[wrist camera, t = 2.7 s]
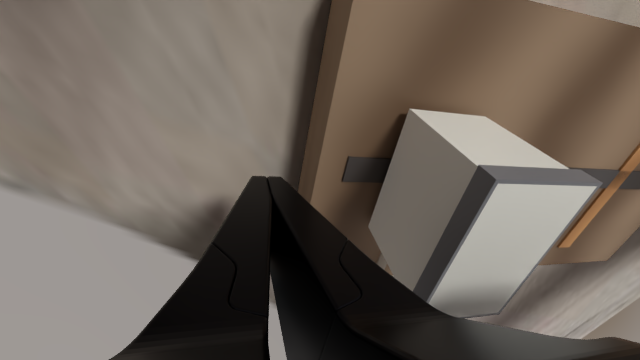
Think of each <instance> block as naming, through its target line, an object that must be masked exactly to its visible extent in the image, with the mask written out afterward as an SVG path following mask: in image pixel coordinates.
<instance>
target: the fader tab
mask: <svg viewBox="0 0 640 360" xmlns="http://www.w3.org/2000/svg"><path fill="white" fill-rule="evenodd" d="M602 184H603V183H602V182H600V181H599V180H597V179H595V178H594V177H592V176H591V175H589V174H587V173H586V172H584V171H582V170H578V169H569V168H567V167H566V166H564V165H562V164H561V163H559V162H557V161H556V160H554V159H553V158H551V157H549V156H548V155H546V154H545V153H543V152H541V151H540V150H538V149H537V148H535V147H533V146H532V145H530V144H529V143H527V142H525V141H524V140H522V139H521V138H519V137H517V136H516V135H514V134H513V133H511V132H509V131H508V130H506V129H505V128H503V127H501V126H500V125H498V124H497V123H495V122H493V121H492V120H490V119H489V118H487V117H485V116H476V115H466V114H457V113H447V112H437V111H427V110H418V109H409V111H408V114H407V117H406V120H405V123H404V125H403V128H402V131H401V134H400V137H399V140H398V143H397V145H396V148H395V151H394V154H393V157H392V160H391V163H390V166H389V168H388V171H387V174H386V177H385V180H384V183H383V186H382V188H381V191H380V194H379V197H378V200H377V203H376V206H375V209H374V211H373V214H372V217H371V220H370V223H369V226H368V227H369V229H370V231H371V233H372V235H373V237H374V239H375V241H376V243H377V245H378V247H379V249H380V251H381V252H382V254H383V256H384V258H385V260H386V262H387V264H388V266H389V268H390V270H391V272H392V274H393V276H394V278H395V279H397V280H398V281H399V282H401V283H402V284H403V285H405V286H406V287H407V288H409V289H410V290H411V291H413V292H414V293H415V294H417V295H418V296H419V297H420V298H422V299H423V300H424V301H426V302H427V303H429V304H430V305H431V306H433V307H434V308H436V309H438V310H440V311H442V312H444V313H446V314H448V315H451V316H454V317H458V318H462V319H465V318H473V317H481V316H489V315H498V314H500V312H501V311H502V310H503V309H504V307H505V306H506V305H507V303H508V302H509V301H510V300H511V298H512V297H513V296H514V295H515V293H516V292H517V291H518V290H519V288H520V287H521V286H522V285H523V283H524V282H525V281H526V279H527V278H528V277H529V276H530V274H531V273H532V272H533V271H534V269H535V268H536V267H537V266H538V264H539V263H540V262H541V261H542V259H543V258H544V257H545V255H546V254H547V253H548V252H549V250H550V249H551V248H552V247H553V245H554V244H555V243H556V242H557V240H558V239H559V238H560V237H561V235H562V234H563V233H564V231H565V230H566V229H567V228H568V226H569V225H570V224H571V223H572V221H573V220H574V219H575V218H576V216H577V215H578V214H579V213H580V211H581V210H582V209H583V208H584V206H585V205H586V204H587V202H588V201H589V200H590V199H591V197H592V196H593V195H594V194H595V192H596V191H597V190H598V189H599V187H600V186H601V185H602Z"/></svg>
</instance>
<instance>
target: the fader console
mask: <svg viewBox="0 0 640 360" xmlns="http://www.w3.org/2000/svg"><path fill="white" fill-rule="evenodd" d="M409 109H418V110H427V111H437V112H447V113H457V114H466V115H476V116H485V117H487V118H489V119H490V120H492V121H493V122H495V123H497V124H498V125H500V126H501V127H503V128H505V129H506V130H508V131H509V132H511V133H513V134H514V135H516V136H517V137H519V138H521V139H522V140H524V141H525V142H527V143H529V144H530V145H532V146H533V147H535V148H537V149H538V150H540V151H541V152H543V153H545V154H546V155H548V156H549V157H551V158H553V159H554V160H556V161H557V162H559V163H561V164H562V165H564V166H566V167H567V168H569V169H578V170H582V171H584V172H586V173H587V174H589V175H591V176H592V177H594V178H595V179H597V180H599V181H600V182H602V183H603V184H602V185H601V186H600V187H599V189H598V190H597V191H596V192H595V194H594V195H593V196H592V197H591V199H590V200H589V201H588V202H587V204H586V205H585V206H584V208H583V209H582V210H581V211H580V213H579V214H578V215H577V216H576V218H575V219H574V220H573V221H572V223H571V224H570V225H569V226H568V228H567V229H566V230H565V231H564V233H563V234H562V235H561V237H560V238H559V239H558V240H557V242H556V243H555V244H554V245H553V247H552V248H551V249H550V250H549V252H548V253H547V254H546V255H545V257H544V258H543V259H542V261H541V262H540V263H539V264H538V265H550V264H565V263H579V262H594V261H607V260H608V259H609V258H610V257H611V256H612V255H613V254H614V253H615V252H616V251H617V250H618V249H619V248H620V247H621V245H622V244H623V243H624V242H625V241H626V240H627V239H628V238H629V237H630V236H631V235H632V234H633V233H634V232H635V231H636V230H637V229H638V228H639V227H640V28H639V27H635V26H631V25H627V24H623V23H619V22H615V21H611V20H606V19H602V18H598V17H594V16H590V15H586V14H582V13H578V12H574V11H570V10H566V9H562V8H558V7H553V6H549V5H545V4H541V3H537V2H533V1H529V0H332V2H331V8H330V14H329V19H328V25H327V30H326V36H325V42H324V47H323V53H322V58H321V64H320V70H319V75H318V81H317V86H316V92H315V98H314V103H313V109H312V114H311V120H310V126H309V131H308V137H307V142H306V148H305V154H304V159H303V165H302V170H301V176H300V182H299V187H298V193H299V194H300V195H301V196H302V197H303V198H305V199H306V200H307V201H308V202H309V203H310V204H311V205H312V206H313V207H314V208H315V209H316V210H317V211H319V212H320V213H321V214H322V215H323V216H324V217H325V218H326V219H327V220H328V221H329V222H330V223H332V224H333V225H334V226H335V227H336V228H337V229H338V230H339V231H340V232H341V233H342V234H343V235H345V236H346V237H347V238H348V240H350V241H351V242H352V243H353V244H354V245H355V246H357V247H358V248H359V249H360V250H361V251H362V252H363V253H364V254H366V255H367V256H368V257H369V258H370V259H371V260H373V261H374V262H375V263H376V264H378V265H379V266H380V267H381V268H383V269H384V270H385V271H386V272H388V273H389V274H390V275H393V274H392V272H391V270H390V268H389V266H388V264H387V262H386V260H385V258H384V256H383V254H382V252H381V251H380V249H379V247H378V245H377V243H376V241H375V239H374V237H373V235H372V233H371V231H370V229H369V227H368V226H369V223H370V220H371V217H372V214H373V211H374V209H375V206H376V203H377V200H378V197H379V194H380V191H381V188H382V186H383V183H384V180H385V177H386V174H387V171H388V168H389V166H390V163H391V160H392V157H393V154H394V151H395V148H396V145H397V143H398V140H399V137H400V134H401V131H402V128H403V125H404V123H405V120H406V117H407V114H408V111H409Z"/></svg>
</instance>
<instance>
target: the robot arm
mask: <svg viewBox="0 0 640 360" xmlns="http://www.w3.org/2000/svg"><path fill="white" fill-rule="evenodd" d="M270 274H271V279H272V284H273V289H274V294H275V300H276V305H277V310H278V315H279V320H280V326H281V331H282V336H283V341H284V346H285V352H286V357H287V360H640V343H637V342H632V341H628V340H625V339H621V338H616V337H605V338H599V339H590V340H581V339H570V338H561V337H555V336H549V335H543V334H538V333H533V332H528V331H523V330H518V329H513V328H508V327H503V326H498V325H493V324H488V323H482V322H477V321H472V320H467V319H462V318H458V317H454V316H451V315H448V314H446V313H444V312H442V311H440V310H438V309H436V308H434V307H433V306H431V305H430V304H429V303H427V302H426V301H424V300H423V299H422V298H420V297H419V296H418V295H417V294H415V293H414V292H413V291H411V290H410V289H409V288H407V287H406V286H405V285H403V284H402V283H401V282H399V281H398V280H397V279H395V278H394V277H393V276H392V275H390V274H389V273H388V272H386V271H385V270H384V269H383V268H381V267H380V266H379V265H378V264H376V263H375V262H374V261H373V260H371V259H370V258H369V257H368V256H367V255H366V254H364V253H363V252H362V251H361V250H360V249H359V248H358V247H357V246H355V245H354V244H353V243H352V242H351V241H350V240H348V238H347V237H346V236H345V235H343V234H342V233H341V232H340V231H339V230H338V229H337V228H336V227H335V226H334V225H333V224H332V223H330V222H329V221H328V220H327V219H326V218H325V217H324V216H323V215H322V214H321V213H320V212H319V211H317V210H316V209H315V208H314V207H313V206H312V205H311V204H310V203H309V202H308V201H307V200H306V199H305V198H303V197H302V196H301V195H300V194H299V193H298V192H297V191H296V190H295V189H294V188H293V187H292V186H290V185H289V184H288V183H287V182H286V181H285V180H284V179H283V178H282V177H271V176H269V177H267V178H266V177H265V176H252V177H251V179H250V180H249V182H248V183H247V185H246V187H245V188H244V190H243V191H242V193H241V195H240V196H239V198H238V200H237V201H236V203H235V204H234V206H233V208H232V209H231V211H230V213H229V214H228V216H227V217H226V219H225V221H224V222H223V224H222V226H221V227H220V229H219V230H218V232H217V234H216V235H215V237H214V239H213V240H212V242H211V244H210V245H209V246H208V248H207V250H206V251H205V253H204V254H203V256H202V257H201V259H200V260H199V262H198V263H197V265H196V266H195V268H194V269H193V271H192V272H191V273H190V274H189V276H188V277H187V278H186V280H185V281H184V282H183V283H182V284H181V286H180V287H179V288H178V289H177V290H176V292H175V293H174V294H173V295H172V297H171V298H170V299H169V300H168V301H167V303H166V304H165V305H164V306H163V307H162V308H161V310H160V311H159V312H158V313H157V314H156V315H155V316H154V318H153V319H152V320H151V321H150V322H149V324H148V325H147V326H146V327H145V328H144V330H143V331H142V332H141V333H140V334H139V335H138V336H137V337H136V338H135V339H134V340H133V341H132V342H131V344H129V345H128V346H127V347H126V348H125V349H124V350H122V351H121V352H120V353H118V354H117V355H116V356H114V357H113V358H111V359H109V360H270V356H269V347H268V316H269V288H270Z"/></svg>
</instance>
